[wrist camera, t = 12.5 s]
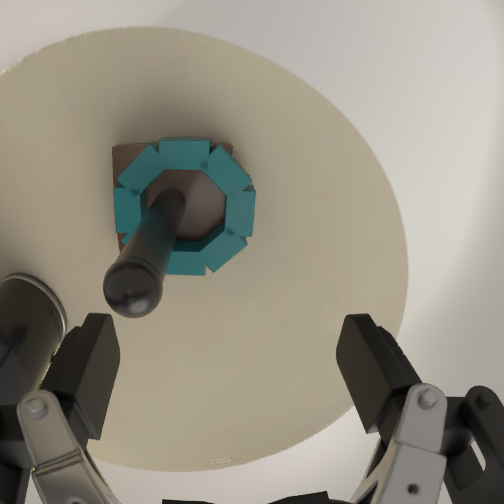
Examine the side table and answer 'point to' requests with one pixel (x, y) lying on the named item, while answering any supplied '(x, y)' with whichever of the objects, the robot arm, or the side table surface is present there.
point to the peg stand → (159, 231)
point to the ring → (224, 177)
